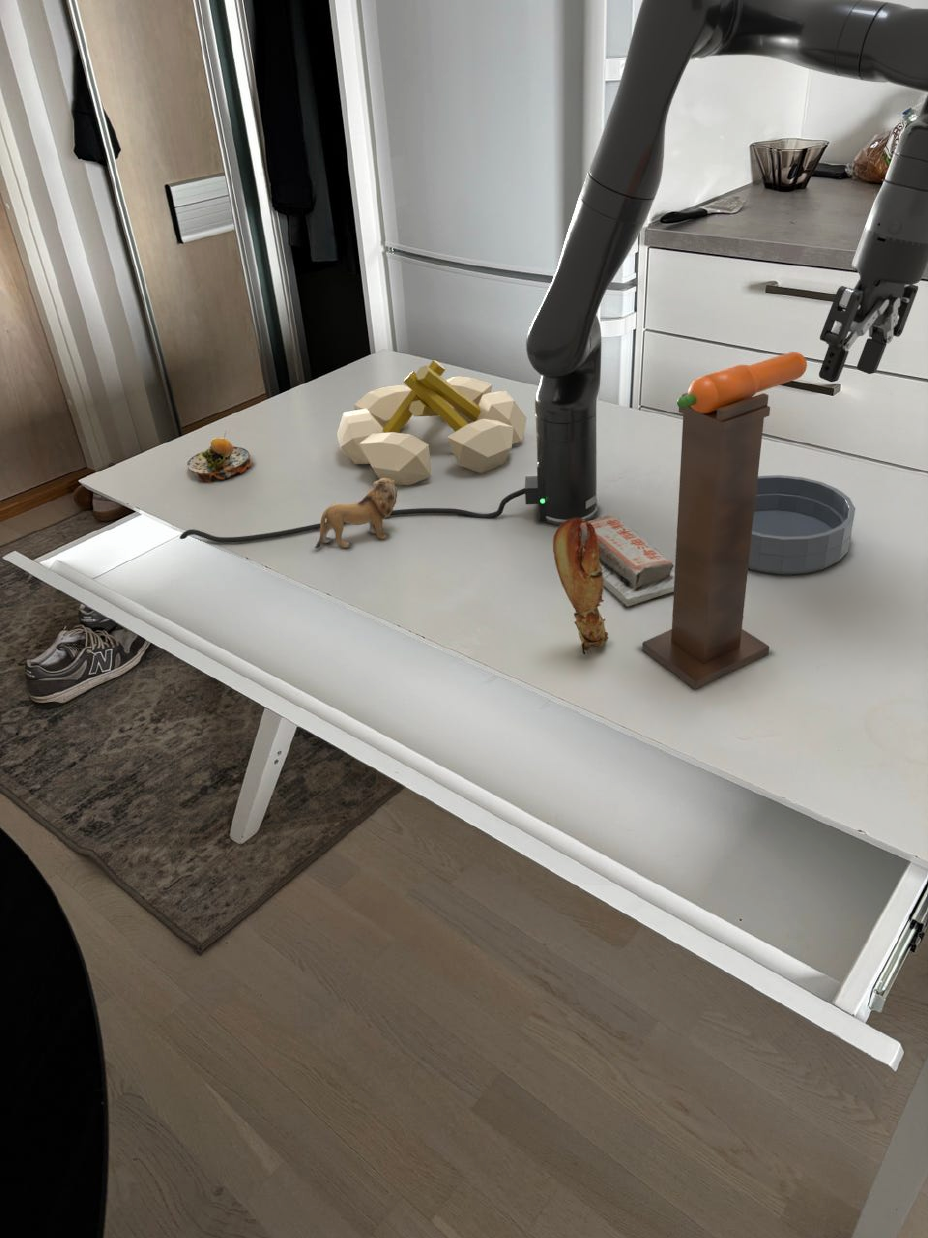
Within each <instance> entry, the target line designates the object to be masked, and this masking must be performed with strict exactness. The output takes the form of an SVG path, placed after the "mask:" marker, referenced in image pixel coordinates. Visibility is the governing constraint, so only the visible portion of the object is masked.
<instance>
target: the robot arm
mask: <svg viewBox="0 0 928 1238" xmlns="http://www.w3.org/2000/svg"><path fill="white" fill-rule="evenodd" d="M725 56H727V57H728V56H754V57H765V58H771V59H775V60H776V59H777V60H781V61H783V62H787V63H790V64H794V65H797V66H800V67H802V68H805V69H809V70H811V71H815V72H819V73H823V74H827V75H832V76H836V77H842V78H848V79H853V80H857V81H858V80H859V81H863V82H871V83H882V84H883V83H890V84H894V85H896V86H901V87H905V88H909V89H912V90H916V91H920V92H924V93H928V8H912V7H910V6H907V5H903V4H900V3H895V2H889V1H881V0H641V3H640V7H639V10H638V13H637V17H636V21H635V25H634V27H633V31H632V36H631V39H630V43H629V47H628V51H627V55H626V59H625V63H624V66H623V70H622V74H621V78H620V82H619V84H618V87H617V91H616V94H615V96H614V100H613V103H612V105H611V108H610V110H609V113H608V117H607V119H606V123H605V124H604V129H603V130H602V134H601V137H600V140H599V143H598V146H597V149H596V151H595V153H594V156H593V159H592V161H591V163H590V166H589V168H588V171H587V174H586V177H585V180H584V183H583V185H582V188H581V191H580V193H579V196H578V200H577V202H576V205H575V209H574V212H573V215H572V219H571V220H570V221H571V222H570V224H569V227H568V231H567V233H566V237H565V240H564V244H563V247H562V251H561V254H560V258H559V261H558V265H557V268H556V271H555V272H554V275H553V278H552V281H551V283H550V285H549V288H548V290H547V292H546V294H545V296H544V298H543V300H542V303H541V305H540V307H539V309H538V310H537V313H536V315H535V316H534V319H533V320H532V323H531V325H530V327H529V328H528V331H527V334H526V340H525V349H526V350H525V351H526V355H527V359H528V361H529V364H530V365H531V367H532V369H534V371H536V373H537V374H539V375H540V381H539V383H538V384H539V385H538V387H537V391H536V394H535V399H534V412H535V413H534V414H535V434H536V459H537V461H536V475H531V476H530V475H527V476H525V478H524V479H525V480H524V487H523V488H521V489H519V490H515V491H513V492H511V493H510V494H508V495H507V496H505V497H504V498H502V500H500V503H499V505H498V508H497V509H496V511H493V512H491V513H478V512H474V511H470V510H466V509H461V508H452V507H450V508H449V507H446V508H445V507H418V508H416V507H415V508H403V509H401V508H400V509H393V511H392V513H391V514H390V516H389V517H392V516H393V517H394V516H403V515H404V516H405V515H420V514H443V515H445V514H447V515H459V516H464V517H469V518H473V519H474V518H475V519H490V520H491V519H495V518H497V517H499V516H501V515H502V514H503V512H504V509H505V507H506V505H507V504H508V503H509V502H511V501H512V500H514V499H516V498H519V497H521V496H524V499H525V500H524V501H525V502H524V504H525V505H538V522H540V523H543V522H545V523H549V524H552V525H556V526H560V525H561V524H562V523H563V522H565V521H566V520H568V519H570V518H574V517H579V518H582V519H584V520H586V521H591V520H593V519H594V518H595V517H596V516H597V513H598V497H597V496H598V495H597V491H598V489H597V488H598V485H597V477H598V476H597V475H598V474H597V469H598V468H597V467H598V466H597V465H598V464H597V461H598V460H597V405H598V403H597V402H598V396H599V392H600V388H601V376H602V375H601V374H602V345H603V344H602V342H603V341H602V328H601V324H600V321H599V318H598V316H597V314H598V311H599V309H600V307H601V306H600V305H601V303H602V301H603V298H604V296H605V294H606V293H607V290H608V288H609V286H610V285H611V283H612V282H613V280H614V278H615V276H616V275H617V273H618V272H619V270H620V269H621V268H622V265H623V264H624V262H625V260H626V259H627V257H628V255H629V254H630V252H631V250H632V248H633V247H634V245H635V244H636V241H637V239H638V238H639V235H640V233H641V231H642V229H643V227H644V225H645V223H646V221H647V218H648V216H649V214H650V211H651V209H652V206H653V204H654V201H655V199H656V197H657V194H658V191H659V188H660V185H661V181H662V178H663V171H664V165H665V163H664V162H665V143H666V141H665V140H666V139H665V138H666V125H667V120H668V115H669V111H670V107H671V104H672V101H673V98H674V96H675V93H676V91H677V89H678V87H679V84H680V82H681V79H682V77H683V74H684V72H685V70H686V68H687V66H688V64H689V62H690V60H701V59H706V58H708V57H725ZM927 266H928V94H927V96H926V98H925V100H924V103H923V105H922V107H921V110H920V111H919V114H918V115H917V117H916V119H914V121H912V122H911V123H909V124H908V125H907V126H906V127H905V129H904V130H903V131H902V133H901V135H900V137H899V139H898V142H897V143H896V147H895V149H894V152H893V155H892V157H891V161H890V163H889V166H888V169H887V172H886V174H885V177H884V180H883V182H882V185H881V187H880V188H879V191H878V192H877V195H876V197H875V199H874V200H873V203H872V206H871V209H870V212H869V214H868V216H867V220H866V223H865V225H864V229H863V231H862V234H861V236H860V239H859V243H858V245H857V248H856V251H855V254H854V256H853V259H852V262H851V268H852V269H853V271H855V272H856V273H858V275H859V278H858V281H856V284H855V286H854V287H853V288H851V287H847V286H843V285H841V286H839V288H838V289H837V291H836V293H835V297H834V299H833V301H832V304H831V307H830V309H829V312H828V314H827V316H826V319H825V322H824V325H823V327H822V330H821V332H820V335H819V340H820V341H821V342H824V343H826V344H827V345H828V346H827V349H826V353H825V355H824V358H823V361H822V364H821V366H820V369H819V371H818V376H819V378H820V379H822V380H823V381H826V382H828V383H836V382H838V381H839V379H840V377H841V374H842V371H843V369H844V366H845V363H846V360H847V358H848V355H849V352H850V351H849V350H850V349H851V347H852V346H853V344H854V343H855V342H856V340H857V339H858V338H859V337H862V336H864V335H866V334H867V332H868V337H869V338H867V339H866V340H865V343H864V346H863V348H862V351H861V354H860V357H859V358H858V362H857V365H856V368H857V370H858V371H860V372H862V373H865V374H868V375H873V374H875V373H876V372H877V371H878V368H879V365H880V364H881V363H880V362H881V360H882V358H883V355H884V353H885V350H886V347H887V345H889V344H891V342H892V341H893V339H894V337H896V338H898V337H900V336H901V335H902V333H903V331H904V328H905V326H906V323H907V320H908V318H909V315H910V312H911V309H912V307H913V305H914V301H915V298H916V296H917V293H918V291H919V285H916V284H918V283H920V282H921V280H922V279H923V276H924V274H925V271H926V269H927ZM835 323H836V326H834V325H835ZM582 523H585V521H584V522H582ZM325 524H326V521H325ZM325 524H324V526H325ZM344 524H346V523H345V522H344ZM316 530H320V522H319V523H315V524H314V523H313V524H309V525H304V526H300V527H299V526H298V527H295V528H290V529H284V530H278V531H272V532H265V533H258V534H252V535H251V534H250V535H242V536H230V537H229V536H216V535H212V534H209V533H207V532H204V531H202V530H199V529H193V528H192V529H191V528H190V529H187V530H185V531H184V532H182V534H180V536H179V539H180V540H185V539H187V538H188V537H189V536H192V535H193V536H198V537H201V538H203V539H206V540H208V541H211V542H215V543H223V544H226V543H227V544H228V543H229V544H232V543H244V542H245V543H246V542H252V541H253V542H254V541H261V540H267V539H274V538H281V537H285V536H290V535H291V536H292V535H296V534H301V533H305V532H310V531H311V532H312V531H316Z"/></svg>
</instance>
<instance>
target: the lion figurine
mask: <svg viewBox="0 0 928 1238" xmlns="http://www.w3.org/2000/svg"><path fill="white" fill-rule="evenodd" d="M397 498H398V489H397V487H396V484H395V481H394V480H391V479H387V478H381V479H379V478H378V480H375V481H374V482H373V483H372V488H371V489H370V490H369V491H368V492H367V494H366V495H365V496H364V497H363V498H362V500H360V501H358V502H353V503H334V504H331V505H329V506H328V507H327V508H325V510H324V511H323V512H322V515H321V517H320V522H319V523H320V529H319V539H318V541H317V543H316V545H315V547H314V549H319V548H321V546H322V543H326V544H327V543H330V542H331V540H332V539H331V537H328V536H327V535H328V534H329V532H330V531H331V530H332V529H333V531H334V533H335V538H334V539H335V542H337V543H338V544H339V545H340V546H341V547H342V548H343V549H348V548H350V546H351V545H350V543H349V542H348V541H344V540H343V531H344V528H345V525H344V522H345V524H348V525H351V526H362V525H365V524H369V530H370V532H371V533H372V534H376V536H377V537H378V539H379V540H386V539H387V537H388V536H387V534H386V533H383V527H384V526H383V525H384V524H383V523H384V522H383V520H384V519H386V518H388V517H391V516H390V514H391V513H392V511H393V510H394V508H395V506H396V504H397ZM325 522H326V524H325ZM324 524H325V526H324Z"/></svg>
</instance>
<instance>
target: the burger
mask: <svg viewBox="0 0 928 1238" xmlns="http://www.w3.org/2000/svg"><path fill="white" fill-rule="evenodd" d="M226 433H227V430H225V433H224V434H226ZM225 437H226V435H224V437H215V438H212V440H211V441H210V446H208V448H207V449H206V450H204V451H201V452H200V453H197V454H195V455H193V456H192V457H191V458H190V459H189V460H188V461H187V469H188V470H189V472H190V473H192V474H196V475H198V478H199V480H200V482H202V483H204V482H206V483H211V482H212V479H211V478H212V476H214V477H215V478H216V479H218V480H226V478H227V479H230V477H231V476H232V475H236V474H237V473H240V474H243V472H245V471H246V470H247V469H249V468H251V466H252V463H253V461H252V458H251V456H250V452H249V450H247V449H246V448H243V447H241V446H240V447H239V446H233V444H232V443H231V441H230V440H228V439H227V438H225Z"/></svg>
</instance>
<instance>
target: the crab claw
mask: <svg viewBox="0 0 928 1238" xmlns="http://www.w3.org/2000/svg"><path fill="white" fill-rule="evenodd" d="M584 521H585V524H586V526H587V538H586V540H585V543H586V549H584V548H583V547H584V543H583V542H582V541H581V535H582V529H581V528H580V526H581V523H582V522H584ZM552 552H553V559H554V564H555V568H556V571H557V575H558V577H559V580H560V583H561V586H562V589H563V590H564V592H565V593H566V596H567V598H568V600H569V601H570V604H571V606H572V607H573V609H574V610H575V612H574V613H573V616H574V618H575V621H573V622H574V624H575V626H576V629H577V631H578V637H579V640H580V644H581V651H582V654H583V655H586V651H589V650H590V649H593V648H594V649H595V648H597V649H598V648H600V647H601V648H602V646H604V645H606V644H607V642H608V640H609V632H607V629H606V626H605V621H606V618H603V616H602V614H601V612H600V610H599V607H600V606H601V603H602V602H603V603H604V599H603V594H604V585H603V573H602V567H601V566H600V563H599V549H598V540H597V535H596V532H595V529H594V527H593V526H592V524H591V523H589V522H588V521H586V520H584V519H582V518H579V517H574V518H570V519H568V520H566V521H565V522H563V523H562V524H561V525H558V527H557V528H556V530H555V532H554V535H553V539H552Z"/></svg>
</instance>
